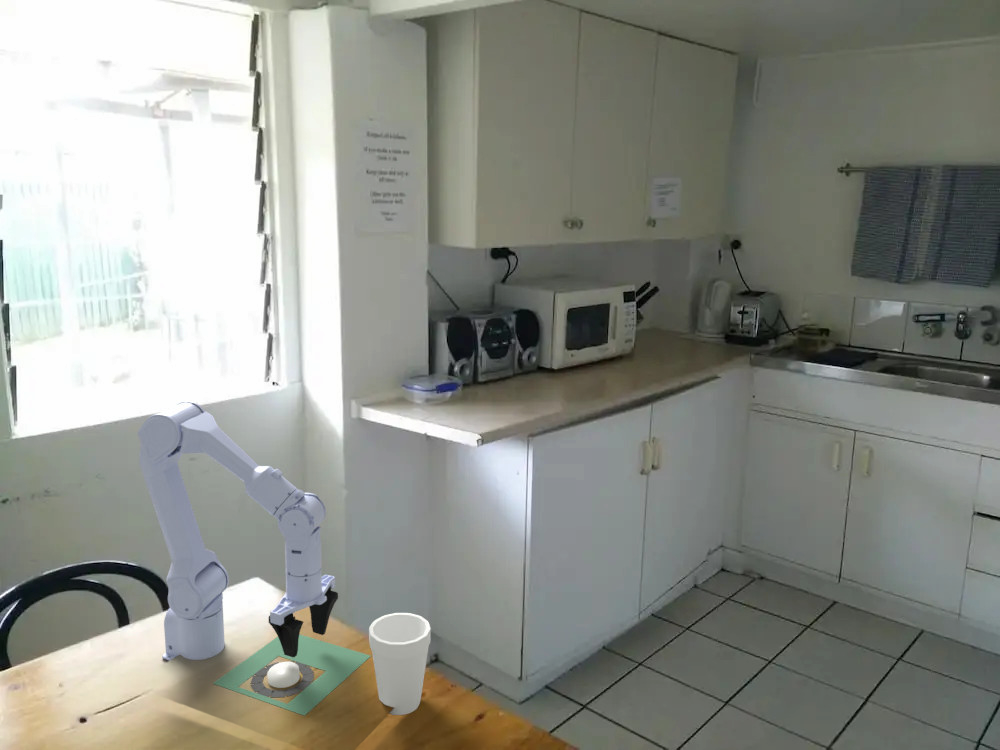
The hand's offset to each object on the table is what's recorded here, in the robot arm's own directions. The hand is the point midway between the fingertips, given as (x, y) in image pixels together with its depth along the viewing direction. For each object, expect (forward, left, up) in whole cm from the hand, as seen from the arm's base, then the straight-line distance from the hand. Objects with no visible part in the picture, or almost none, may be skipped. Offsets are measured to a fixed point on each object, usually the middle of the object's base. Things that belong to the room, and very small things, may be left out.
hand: (305, 643), depth 134 cm
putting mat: (0, -3, -5) cm, 5 cm away
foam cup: (+19, -1, -5) cm, 20 cm away
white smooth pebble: (0, -6, -4) cm, 7 cm away
